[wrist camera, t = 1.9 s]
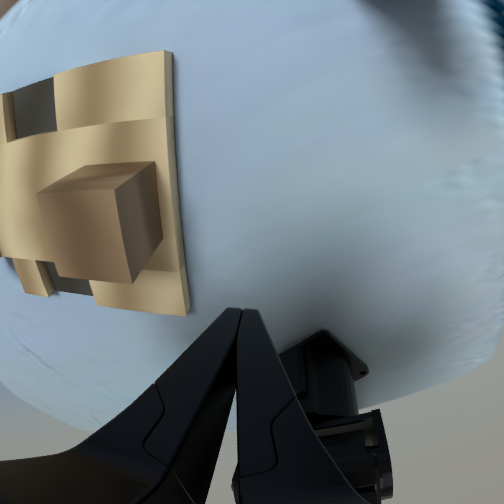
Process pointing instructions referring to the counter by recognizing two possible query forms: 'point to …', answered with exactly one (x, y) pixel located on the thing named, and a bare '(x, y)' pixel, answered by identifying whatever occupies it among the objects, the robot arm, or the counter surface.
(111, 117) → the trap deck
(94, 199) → the walnut block
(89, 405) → the counter surface
